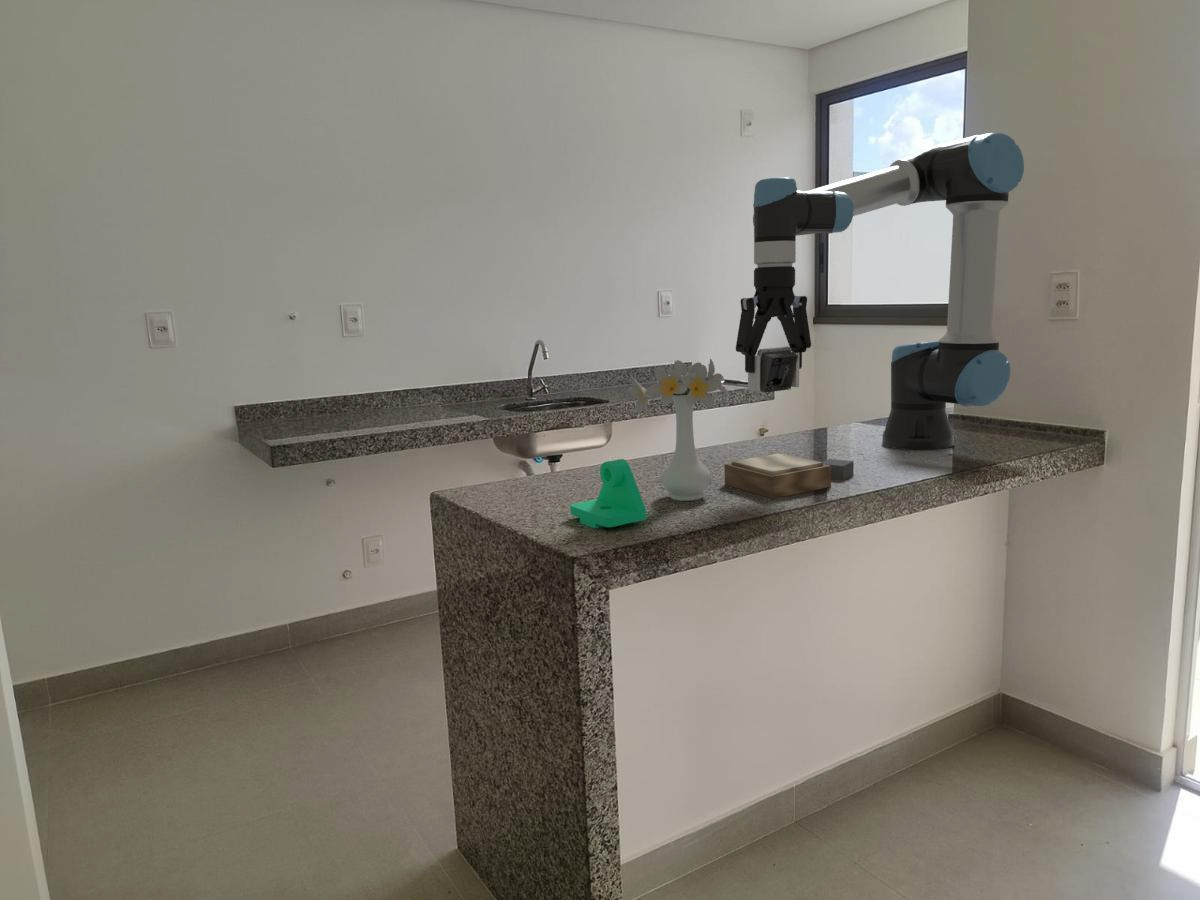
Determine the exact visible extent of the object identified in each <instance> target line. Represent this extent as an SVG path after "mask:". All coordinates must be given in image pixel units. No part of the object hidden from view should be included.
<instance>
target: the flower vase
mask: <svg viewBox="0 0 1200 900" xmlns="http://www.w3.org/2000/svg"><path fill="white" fill-rule="evenodd" d="M713 361H714V360H713V359H712V358H711V357H710V359H709V363H708V366H707V367H708V369H707V367H706V365H705V364H702V362H695V363H693V364H692V365H691V366H690V367H689V368H688V369H687V367H686V365H685V364H684V362H683V361H681V360H680V359H677V360H674V363H673V364H672V362H670V365H669V368H668V372H666V370H665V369H663V368H662V367H659V366H657V367H655V369H654V371H653V372H654V376H655V379H656V381H658V383H655V384H652V385H650V386H649V387H648V388H647V389H646V388H645V387H644V386H642V385H641V384H640V383H639V381H637V380H636V379H635V378H634V377H633V375H629V378H630V380H631V383H632V385H633V386H629V387H628V393H629V394H630V395H631V396H632V397H633V398H638V399H637V401H636V411H637V413H638V415H640V414H642V411H643V412H644V414H645V416H647V415H648V404H649V399H650V396H652V398H651V401H654V399H656V398H658V397H659V396H661V397H660V404H661V405H662V407H667V406H669V404H671V401H673V406H674V411H675V418H676V419H675V420H676V421H675V422H676V425H675V426H676V427H675V428H676V430H675V433H676V435H675V437H676V438H675V450H674V453H673V456H672V459H671V460H670V462H669V464H668V465H667V466H666V467H665V468H664V469H663V471H662V473H661V476H660V484H661V486H662V487H663V488H664V490H665V491H666V492H668V493H669V498H670V500H671V499H672V500H673V501H679V502H690V501H691V502H692V501H697V500H701V499H702V498H704V495H705V493H704V492H706V491H707V490H708V489H709V487H710V486H711V485H712V481H713V478H712V477H713V476H712V473H711V471H710V469H708V467H707V466H706V465H705V464H704V463H703V462H702V461H701V459H700V457H699V456H698V455H699V454H698V453H697V449H696V446H695V445H696V444H695V438H694V421H693V419H694V418H693V416H694V406H695V404H696V403H697V402H698V399H699V400H700V401H701V403H703V405H704V406H706V407H707V408H708V409H712V408H714V404H715V403H714V398H713V397H712V395H711V394H710V393H711V392H714V391H717V390H718V391H720V392H723V393H724V394H725V395H727V396H730V393H729V391H728V389H727V388H726V387H725V386H723V384H724V383H725V378H724V376H723V375H722V374H721V373H719V372H717V373H715V372H716V371H715V370H716V368H715V365H714V362H713ZM672 366H673V367H672Z"/></svg>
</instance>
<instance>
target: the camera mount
mask: <svg viewBox="0 0 1200 900" xmlns="http://www.w3.org/2000/svg"><path fill="white" fill-rule="evenodd" d="M599 475H600V479H601V483H602V485H601V488H600V491H599V494H598V496H597V498H596V499H590V500H585V501H580V502H575V503H571V504H570V505H569V507H570V509H569V510H570V515H571V516H574V517H577V518H579V524H582V525H584V524H585V525H584V526H586V527H589V526H590V528H592V527H593V528H592V529H595V528H597V529H600V528H599V527H601V528H614V527H619V526H623V525H627V524H631V523H636V522H640V521H645V520H647V509H646V506H645V503H644V501H643V498H642V496H641V493H640V490H639V487H638V485H637V482H636V479H635V477H634V474H633V472H632V469H631V467H630V464H629V462H628V461H627V460H626V459H623V458H620V459H619V458H618V459H615V460H614V459H613V460H608V461H605V462H603V463H601V466H600V470H599ZM603 526H604V527H603Z"/></svg>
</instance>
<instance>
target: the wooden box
mask: <svg viewBox="0 0 1200 900" xmlns="http://www.w3.org/2000/svg"><path fill="white" fill-rule="evenodd" d="M823 462H824V461H818V460H815V459H814V460H813V459H808V458H805V457H799V456H796V455H795V456H794V455H790V454H786V453H774V454H769V455H768V454H767V455H762V456H756V457H748V458H744V459H738V460H732V461H731V462H730V463H725V464H724V486H729V487H732V488H736V489H737V490H742V491H745V492H748V493H752V494H755V495H760V496H763V497H766V498H770V499H776V498H782V497H786V496H787V497H788V496H792V495H797V494H801V493H806V492H811V491H812V492H813V491H817V490H822V489H826V488H831V487H832V479H831V466H830V465H825V464H823Z"/></svg>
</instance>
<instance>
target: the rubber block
mask: <svg viewBox="0 0 1200 900" xmlns="http://www.w3.org/2000/svg"><path fill="white" fill-rule="evenodd" d="M854 461H855V460H847V459H846V460H843V459H836V458H835V459H834V458H828V459H826V460H824V461H822V462H823V464H825V465H830V466H831V480H840V481H844V480H847V479H848V478H851V477H852V476H854V470H855V469H854V464H855V463H854Z"/></svg>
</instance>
